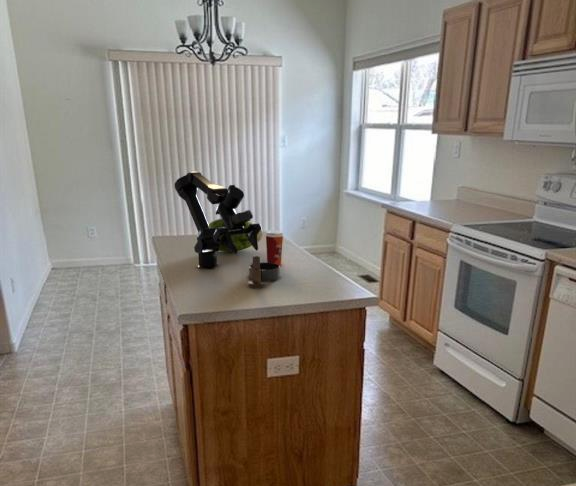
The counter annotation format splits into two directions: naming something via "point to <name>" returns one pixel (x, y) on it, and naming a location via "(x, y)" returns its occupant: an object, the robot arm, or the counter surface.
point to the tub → (267, 271)
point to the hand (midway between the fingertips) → (247, 251)
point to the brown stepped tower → (256, 274)
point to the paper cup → (274, 246)
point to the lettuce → (236, 236)
